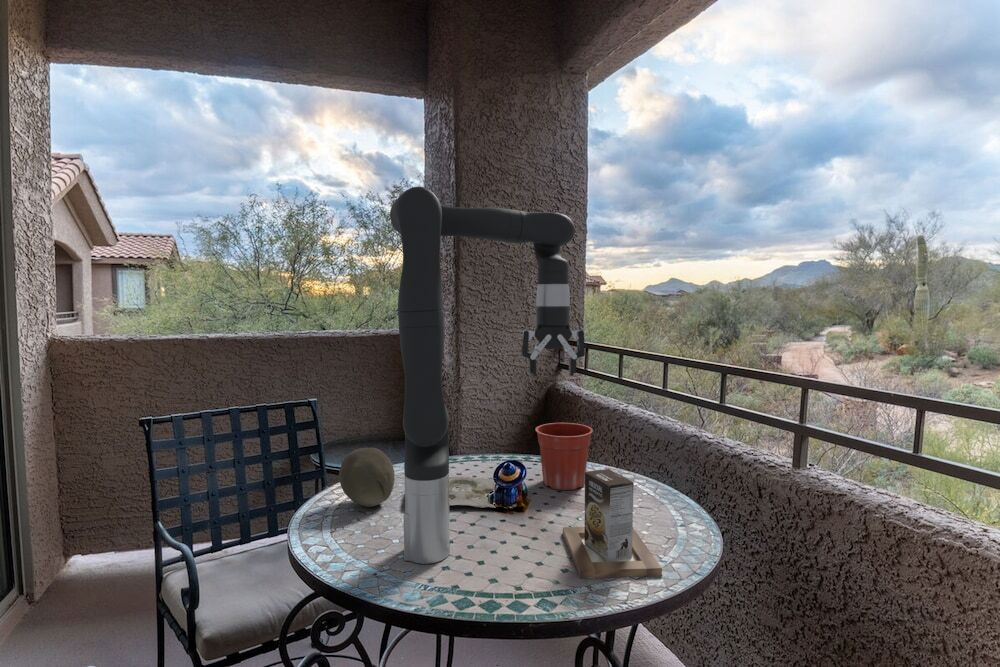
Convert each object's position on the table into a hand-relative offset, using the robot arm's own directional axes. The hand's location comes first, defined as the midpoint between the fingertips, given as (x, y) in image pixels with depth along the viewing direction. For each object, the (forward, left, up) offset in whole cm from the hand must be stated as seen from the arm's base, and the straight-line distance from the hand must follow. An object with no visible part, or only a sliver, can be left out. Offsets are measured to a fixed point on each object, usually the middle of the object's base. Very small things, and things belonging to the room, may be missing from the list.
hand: (552, 375), depth 118 cm
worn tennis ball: (-46, +17, -36) cm, 61 cm away
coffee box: (+10, -12, -36) cm, 39 cm away
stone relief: (-21, +22, -37) cm, 47 cm away
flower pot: (+8, +30, -36) cm, 48 cm away
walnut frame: (+10, -12, -36) cm, 39 cm away
